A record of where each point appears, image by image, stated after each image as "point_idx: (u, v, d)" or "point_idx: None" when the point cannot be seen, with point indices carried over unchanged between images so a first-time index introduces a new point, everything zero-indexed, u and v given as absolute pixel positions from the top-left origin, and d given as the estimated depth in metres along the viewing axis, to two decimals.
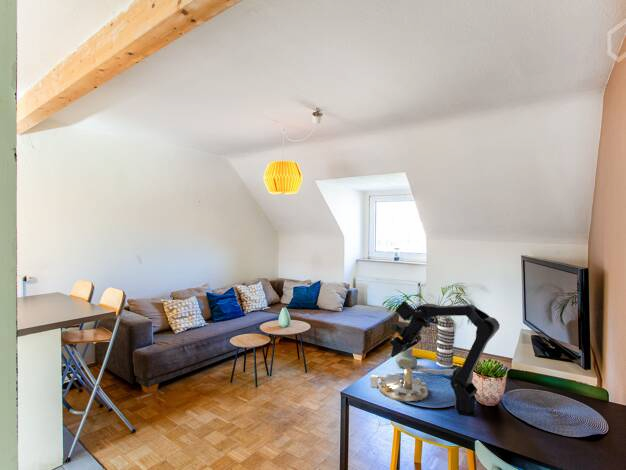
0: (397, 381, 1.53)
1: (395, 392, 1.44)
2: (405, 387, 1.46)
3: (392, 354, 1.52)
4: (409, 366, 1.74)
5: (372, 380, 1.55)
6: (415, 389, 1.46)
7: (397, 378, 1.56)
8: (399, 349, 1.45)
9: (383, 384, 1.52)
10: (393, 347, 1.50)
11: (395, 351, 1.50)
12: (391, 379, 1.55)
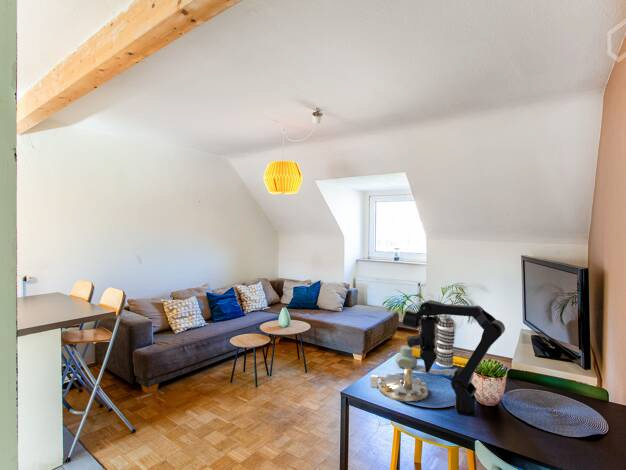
0: (397, 381, 1.53)
1: (395, 392, 1.44)
2: (405, 387, 1.46)
3: (427, 369, 1.40)
4: (409, 366, 1.74)
5: (372, 380, 1.55)
6: (415, 389, 1.46)
7: (397, 378, 1.56)
8: (434, 357, 1.35)
9: (383, 384, 1.52)
10: (424, 361, 1.39)
11: (428, 363, 1.39)
12: (391, 379, 1.55)
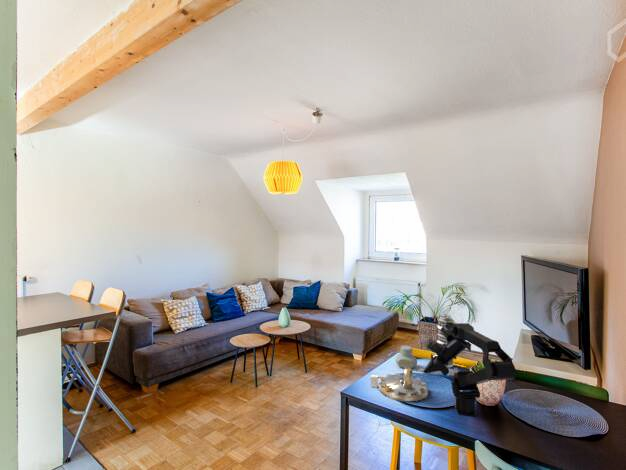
0: (397, 381, 1.53)
1: (395, 392, 1.44)
2: (405, 387, 1.46)
3: (426, 370, 1.44)
4: (409, 366, 1.74)
5: (372, 380, 1.55)
6: (415, 389, 1.46)
7: (397, 378, 1.56)
8: (445, 373, 1.34)
9: (383, 384, 1.52)
10: (431, 364, 1.42)
11: (432, 368, 1.43)
12: (391, 379, 1.55)
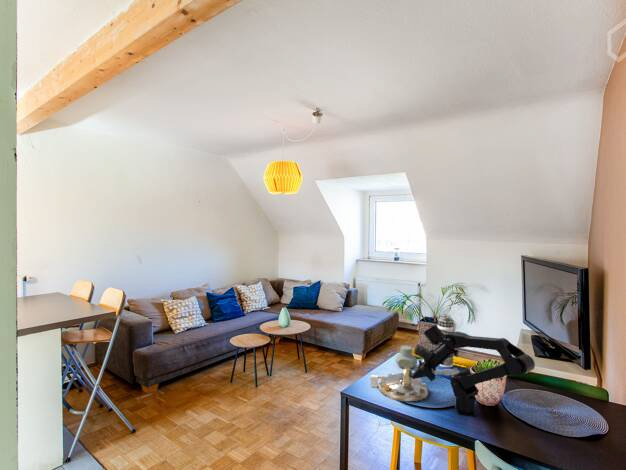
0: (397, 381, 1.53)
1: (393, 392, 1.44)
2: (404, 387, 1.46)
3: (414, 376, 1.45)
4: (409, 366, 1.74)
5: (372, 380, 1.55)
6: (414, 389, 1.46)
7: (398, 378, 1.56)
8: (432, 379, 1.35)
9: (383, 383, 1.52)
10: (419, 370, 1.44)
11: (419, 374, 1.44)
12: (392, 379, 1.55)
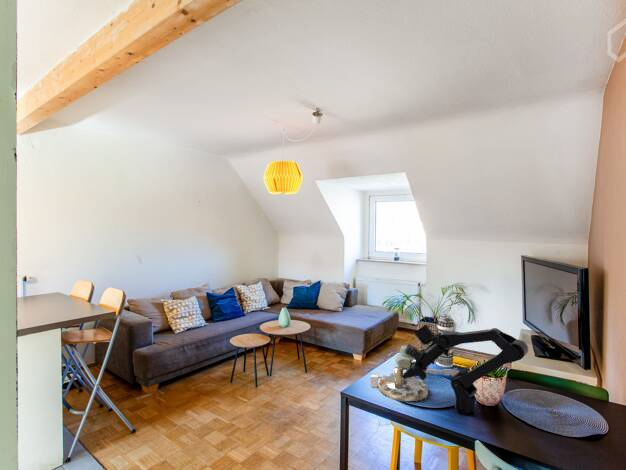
0: None
1: (382, 386, 1.50)
2: (394, 385, 1.48)
3: (405, 376, 1.45)
4: None
5: (372, 380, 1.55)
6: (403, 390, 1.45)
7: None
8: (423, 378, 1.36)
9: (384, 378, 1.58)
10: (410, 369, 1.44)
11: (410, 373, 1.44)
12: None
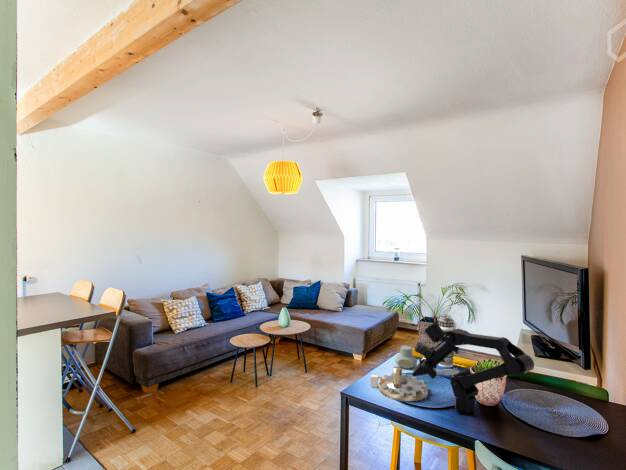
0: None
1: (381, 385, 1.51)
2: (393, 384, 1.48)
3: (415, 373, 1.45)
4: (409, 366, 1.74)
5: (372, 380, 1.55)
6: (401, 389, 1.45)
7: (405, 378, 1.56)
8: (433, 376, 1.35)
9: (385, 378, 1.58)
10: (420, 367, 1.43)
11: (420, 371, 1.44)
12: None
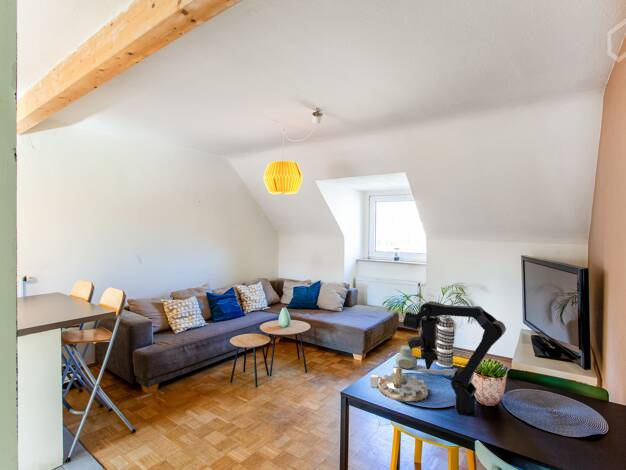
0: None
1: (381, 385, 1.51)
2: (393, 384, 1.48)
3: (427, 366, 1.44)
4: (409, 366, 1.74)
5: (372, 380, 1.55)
6: (401, 389, 1.45)
7: (405, 378, 1.56)
8: (435, 358, 1.35)
9: (385, 378, 1.58)
10: (425, 358, 1.43)
11: (429, 361, 1.43)
12: None
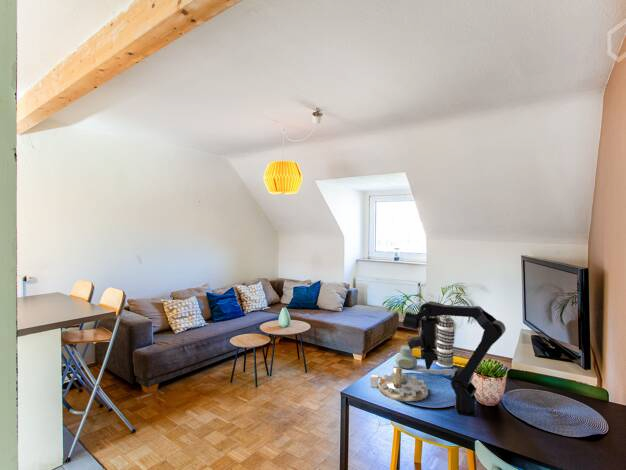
0: None
1: (381, 385, 1.51)
2: (393, 384, 1.48)
3: (427, 366, 1.44)
4: (409, 366, 1.74)
5: (372, 380, 1.55)
6: (401, 389, 1.45)
7: (405, 378, 1.56)
8: (435, 358, 1.35)
9: (385, 378, 1.58)
10: (425, 358, 1.43)
11: (429, 361, 1.43)
12: None
